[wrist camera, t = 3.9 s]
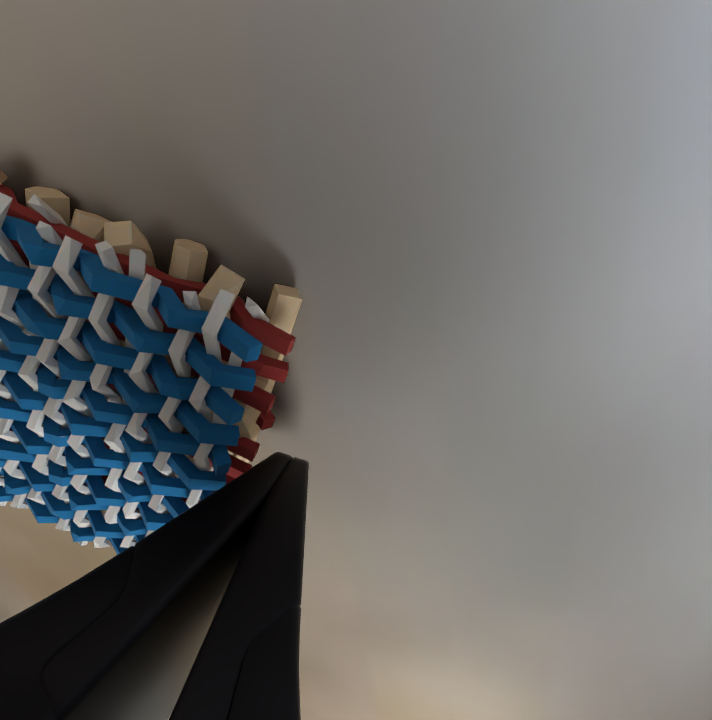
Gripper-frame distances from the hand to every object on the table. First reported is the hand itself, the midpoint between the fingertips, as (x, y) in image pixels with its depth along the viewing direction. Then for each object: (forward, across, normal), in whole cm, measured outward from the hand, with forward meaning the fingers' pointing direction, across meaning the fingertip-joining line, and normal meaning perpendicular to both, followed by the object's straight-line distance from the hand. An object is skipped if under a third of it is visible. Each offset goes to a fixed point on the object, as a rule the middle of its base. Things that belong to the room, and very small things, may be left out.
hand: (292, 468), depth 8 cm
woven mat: (+1, +6, 0) cm, 6 cm away
